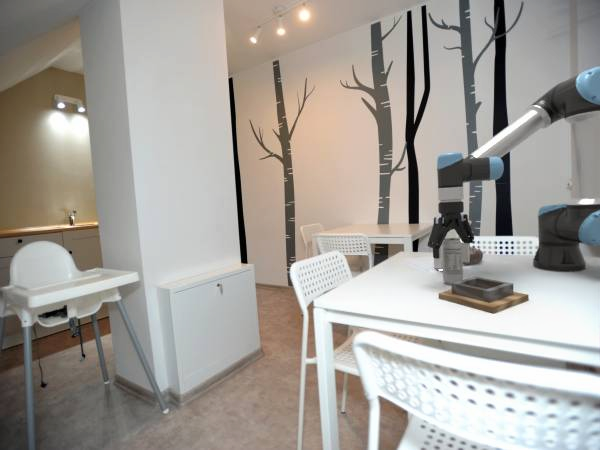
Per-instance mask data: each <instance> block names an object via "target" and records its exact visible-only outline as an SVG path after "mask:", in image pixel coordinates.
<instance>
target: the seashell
mask: <svg viewBox="0 0 600 450" xmlns="http://www.w3.org/2000/svg"><path fill="white" fill-rule="evenodd" d="M483 257H484V252H483V251H482V250H481V249H480V248H479V249H478V248H477V247H472V246H470V262H469V263H468V262H463V264H466V265H472V264H475V263H480V262H482V261H483Z"/></svg>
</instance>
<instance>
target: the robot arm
mask: <svg viewBox="0 0 600 450" xmlns="http://www.w3.org/2000/svg"><path fill="white" fill-rule="evenodd" d="M562 119H564V121H565V122H567V123H568V124H570V149H571V150H570V155H571V156H570V157H571V159H570V160H571V199H570V200H569V201H568V202H567V203H561V204H560V203H558V204H550V205H544V206H541V207H540V208H539V209H538V212H537V213H538V214H537V220H538V223H537V227H538V231H537V232H538V247H537V250H536V252H535V255H534V258H533V259H532V260H533V261H532V267H534V268H536V269H540V270H545V271H552V272H581V271H585V270H587V264H586V263H587V261H586V260H585V258H584V256H583V253H582V251H581V249H580V244H583V245H587V246H600V66H596V67H593V68H591V69H587V70H584V71H582V72H580V73H579V74H577V75H574V76H573V77H571V78H568V79H566V80H564V81H562V82H560V83H558V84H556V85H555V86H553V87H552V88H550V89H549V90H548V91H546V93H544V94H543V95H542V96H540V97H539V98H538V99H537V100H535V101H534V102H533V103H532V104H530V105H529V106H528V107H527V108H526V110H525V113H523V114H522V115H521V116H519V117H517V119H515V120H514V121H513V122H511V123H510V124H508V125H507V126H506V127H505V128H503V129H501V131H499V132H498V133H497V134H495V135H494V136H493V137H491V138H490V139H489V140H487V141H486V142H485V143H483V144H482V145H481V146H479V147H478V148H477V149H476V150H474V151H473V152H471V153H470V154H469V155H468V156H466V157H465V158H464V156H463V153H462V152H460V151H458V152H447V153H441V154H439V155H438V156H437V162H436V172H437V173H436V174H437V175H436V177H437V195H438V198H437V200H438V201H439V202H438V204H437V205H438V213H439V214H440V217H439V216H438V217H437V216H435V217H434V218H433V225H432V228H431V233H430V235H429V237H428V238H429V239H428V242H427V247H429V248H430V249H432V257H433V265H434V266H433V268H435V269H436V268H439V269H443V257H442V243H443V242H444V239H446V237H447V235H448V233H449V232H450V231H453V230H454V231H455V232H456V234H457V235H458V238H459V239H460V241H461V243H462V255H463V262H468V263H469V262H470V247H471V246H470V245H471V244H473V243H474V240H475V236H474V234H473V231H472V228H471V226H470V222H469V217H468V214H466V213H464V210H465V209H464V207H465V206H464V205H465V204H464V201H463V200H464V183H475V182H487V181H488V182H489V181H494V180H495V181H496V180H499V179H500V178H501V177H502V176H503V173H504V170H505V169H504V166H505V165H504V162H503V160H502V158H503V157H504V156H505V155H506V154H508V153H509V152H510V151H512V150H513V149H515V148H516V147H517V146H519V145H520V144H522V143H523V142H525V140H527V139H528V138H530V137H531V136H533V135H534V134H535V133H536V132H538V131H540V129H546V128H548V127H550V126H551V125H552V124H554V123H556V122H558V121H560V120H562Z"/></svg>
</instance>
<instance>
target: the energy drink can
mask: <svg viewBox="0 0 600 450" xmlns="http://www.w3.org/2000/svg"><path fill="white" fill-rule="evenodd" d="M462 243H463V242H462V240H461V239H460V237H447V238H446V237H445V239H444V241H443V243H442V245H441V248H442V254H443V272H442V279H443V282H444V285H445V284H446V285H448V286H451V283H454V282H457V281H461V280H464V265H463V255H462Z"/></svg>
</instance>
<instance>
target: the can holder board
mask: <svg viewBox="0 0 600 450" xmlns="http://www.w3.org/2000/svg"><path fill="white" fill-rule="evenodd" d="M450 286H451V289H448V290H445V291H441V292H439V293H438V299H440V300H442V301H443V300H444V301H447V302H451V303H455V304H458V305H463V306H466V307H468V308H473V309H475V310H476V309H477V310H480V311H484V312H487V313H491V314H495V313H498V312H501V311H503V310H506V309H509V308H511V307H514V306H516V305H519V304H521V303H525V302H526V301H530V300H529V294H526V293H522V292H518V291H514V283H513V282H512V283H511V282H506V281H500V280H495V279H492V278H491V279H489V278H484V277H479V276H473V277H468V278H466V279H465V278H464V279H463V280H461V281H457V282H454V283H451V285H450Z"/></svg>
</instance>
